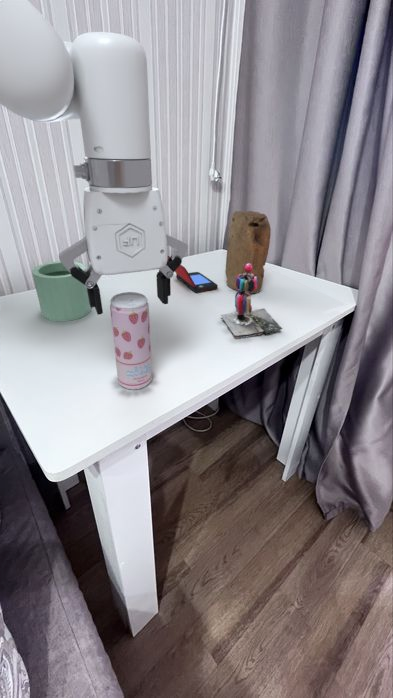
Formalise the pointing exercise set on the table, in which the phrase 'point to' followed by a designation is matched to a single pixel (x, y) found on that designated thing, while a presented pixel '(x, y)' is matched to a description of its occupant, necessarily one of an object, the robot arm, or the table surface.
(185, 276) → the handheld console
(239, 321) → the statue
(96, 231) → the robot arm
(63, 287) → the jar
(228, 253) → the block
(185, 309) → the table surface
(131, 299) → the beverage can
